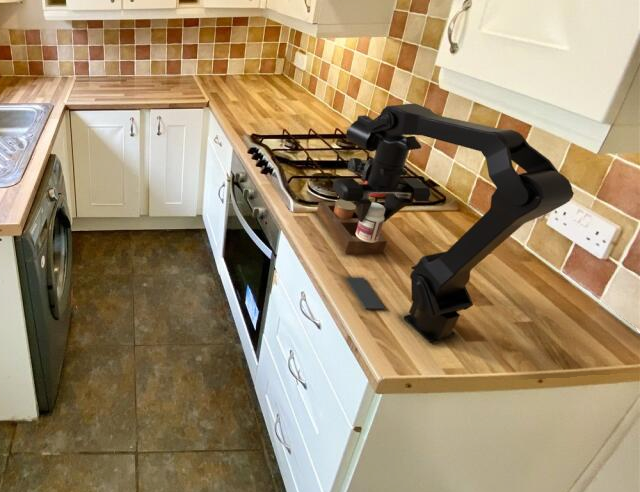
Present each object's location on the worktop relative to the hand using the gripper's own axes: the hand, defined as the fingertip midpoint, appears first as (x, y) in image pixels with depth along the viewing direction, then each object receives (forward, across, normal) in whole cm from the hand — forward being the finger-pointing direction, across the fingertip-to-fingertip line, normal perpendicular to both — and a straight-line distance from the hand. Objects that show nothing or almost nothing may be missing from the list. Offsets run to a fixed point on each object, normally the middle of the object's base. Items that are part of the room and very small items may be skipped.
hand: (371, 221), depth 94 cm
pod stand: (+12, -3, -12) cm, 18 cm away
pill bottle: (+5, 0, 0) cm, 5 cm away
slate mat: (+13, +3, +9) cm, 16 cm away
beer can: (+12, -21, -32) cm, 41 cm away
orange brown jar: (+12, -3, -16) cm, 21 cm away
